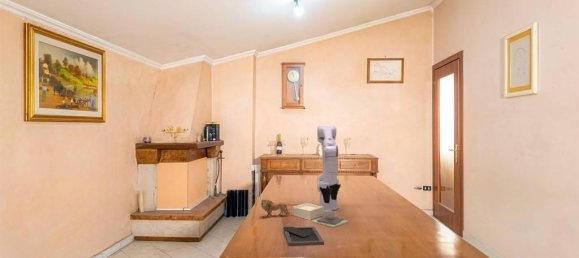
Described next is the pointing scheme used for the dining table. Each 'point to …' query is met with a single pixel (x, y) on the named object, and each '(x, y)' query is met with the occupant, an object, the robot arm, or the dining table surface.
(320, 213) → the tray
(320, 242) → the picture frame
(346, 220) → the sage mat
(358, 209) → the dining table surface
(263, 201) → the lion figurine
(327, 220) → the grey cover
